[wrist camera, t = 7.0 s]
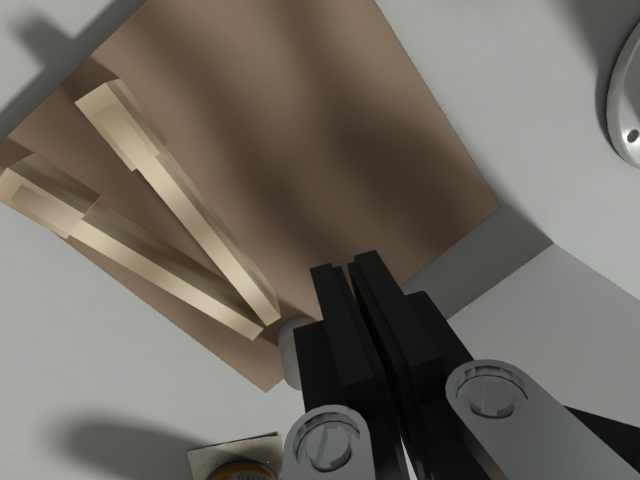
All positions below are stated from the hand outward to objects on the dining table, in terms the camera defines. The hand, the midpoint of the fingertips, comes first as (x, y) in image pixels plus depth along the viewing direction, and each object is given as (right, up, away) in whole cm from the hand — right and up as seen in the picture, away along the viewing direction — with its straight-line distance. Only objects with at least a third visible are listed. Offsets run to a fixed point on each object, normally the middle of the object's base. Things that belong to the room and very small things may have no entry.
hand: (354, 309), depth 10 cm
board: (-4, +5, +15) cm, 16 cm away
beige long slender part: (-8, 0, +15) cm, 17 cm away
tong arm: (-8, +4, +14) cm, 16 cm away
